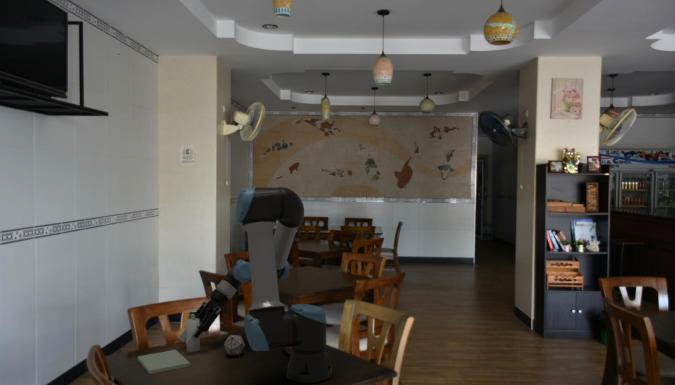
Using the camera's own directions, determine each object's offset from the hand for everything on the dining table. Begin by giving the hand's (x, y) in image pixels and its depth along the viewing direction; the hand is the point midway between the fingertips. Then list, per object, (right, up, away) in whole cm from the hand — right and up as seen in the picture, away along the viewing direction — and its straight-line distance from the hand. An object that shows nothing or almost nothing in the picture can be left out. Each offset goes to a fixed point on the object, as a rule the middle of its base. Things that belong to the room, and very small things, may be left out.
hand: (184, 341), depth 201 cm
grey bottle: (+3, -4, +2) cm, 5 cm away
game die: (+20, -4, -4) cm, 21 cm away
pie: (+45, -4, 0) cm, 45 cm away
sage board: (-4, -4, -12) cm, 13 cm away
